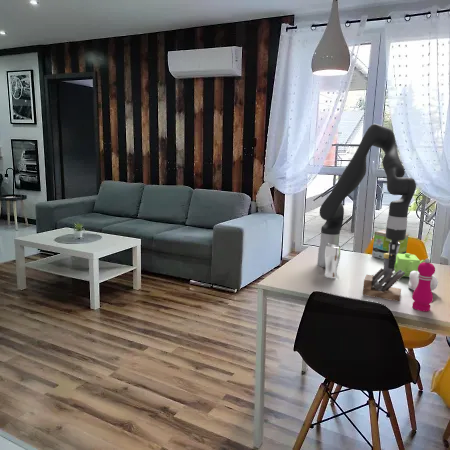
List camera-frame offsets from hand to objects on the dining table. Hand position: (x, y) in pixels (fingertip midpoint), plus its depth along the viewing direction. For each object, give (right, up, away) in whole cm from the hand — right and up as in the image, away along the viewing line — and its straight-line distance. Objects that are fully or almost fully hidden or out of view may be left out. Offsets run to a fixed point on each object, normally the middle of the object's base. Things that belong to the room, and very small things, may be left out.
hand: (391, 265), depth 172 cm
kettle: (+18, -8, +30) cm, 36 cm away
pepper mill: (+7, -16, -10) cm, 20 cm away
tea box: (+22, -2, +60) cm, 64 cm away
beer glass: (-19, -8, +25) cm, 32 cm away
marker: (-1, -7, +2) cm, 7 cm away
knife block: (-3, -12, +4) cm, 13 cm away
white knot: (+16, -12, +10) cm, 22 cm away
